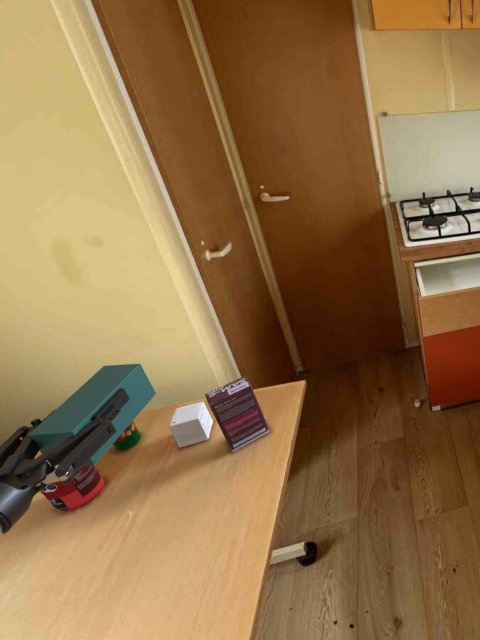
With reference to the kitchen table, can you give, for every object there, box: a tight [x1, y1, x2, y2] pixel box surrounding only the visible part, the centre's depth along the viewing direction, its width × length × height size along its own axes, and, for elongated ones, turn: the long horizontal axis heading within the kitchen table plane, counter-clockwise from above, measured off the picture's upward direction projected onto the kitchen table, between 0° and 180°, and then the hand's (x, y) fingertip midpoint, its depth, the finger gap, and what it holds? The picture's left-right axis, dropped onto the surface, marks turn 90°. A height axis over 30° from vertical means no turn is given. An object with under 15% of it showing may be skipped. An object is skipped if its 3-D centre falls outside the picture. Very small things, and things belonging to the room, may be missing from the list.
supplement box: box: [204, 375, 270, 453], centre depth 100 cm, size 9×5×16 cm, turn 135°
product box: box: [168, 401, 214, 448], centre depth 102 cm, size 6×6×7 cm
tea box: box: [28, 363, 157, 466], centre depth 76 cm, size 6×16×8 cm, turn 6°
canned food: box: [40, 460, 105, 513], centre depth 88 cm, size 8×8×11 cm
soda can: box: [111, 420, 142, 452], centre depth 99 cm, size 5×5×12 cm
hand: (103, 395), depth 76 cm, fingers closed on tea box, 6 cm apart
